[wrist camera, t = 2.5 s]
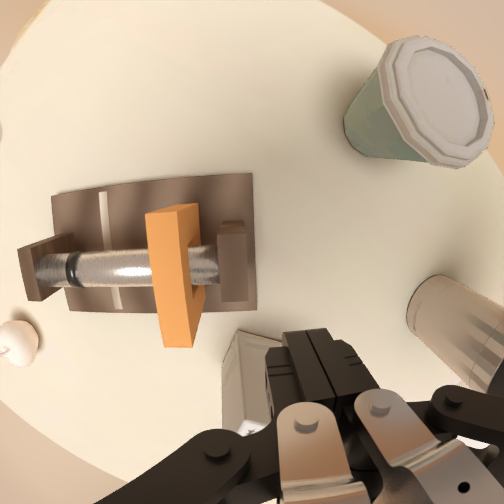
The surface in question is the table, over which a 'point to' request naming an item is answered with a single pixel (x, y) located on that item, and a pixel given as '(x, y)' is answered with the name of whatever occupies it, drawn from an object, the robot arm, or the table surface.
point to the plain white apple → (18, 343)
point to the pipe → (119, 268)
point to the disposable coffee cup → (422, 106)
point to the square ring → (175, 272)
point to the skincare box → (245, 384)
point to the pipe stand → (135, 237)
